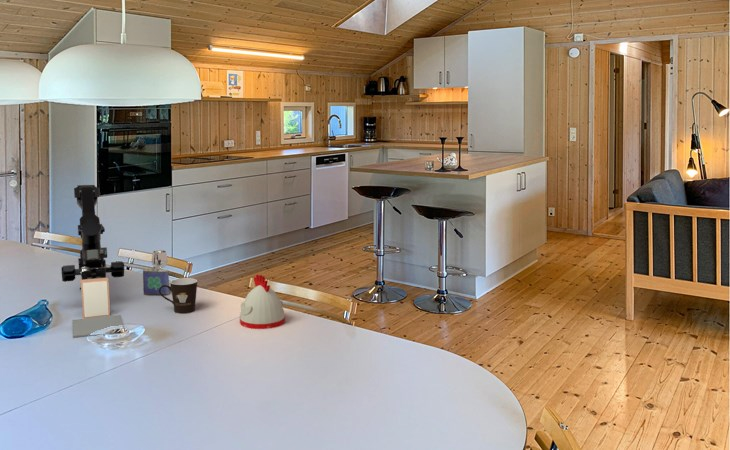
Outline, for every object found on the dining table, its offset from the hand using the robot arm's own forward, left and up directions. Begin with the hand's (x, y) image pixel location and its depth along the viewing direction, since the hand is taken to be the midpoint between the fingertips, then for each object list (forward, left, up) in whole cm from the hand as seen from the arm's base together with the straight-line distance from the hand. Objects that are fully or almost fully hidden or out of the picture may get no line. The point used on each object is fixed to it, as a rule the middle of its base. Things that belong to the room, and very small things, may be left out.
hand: (95, 293), depth 204 cm
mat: (+11, -6, -7) cm, 15 cm away
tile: (+2, -1, -7) cm, 7 cm away
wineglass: (-18, +37, -7) cm, 42 cm away
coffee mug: (+17, +20, -7) cm, 27 cm away
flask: (-5, +26, -7) cm, 28 cm away
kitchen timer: (+46, +29, -7) cm, 55 cm away
